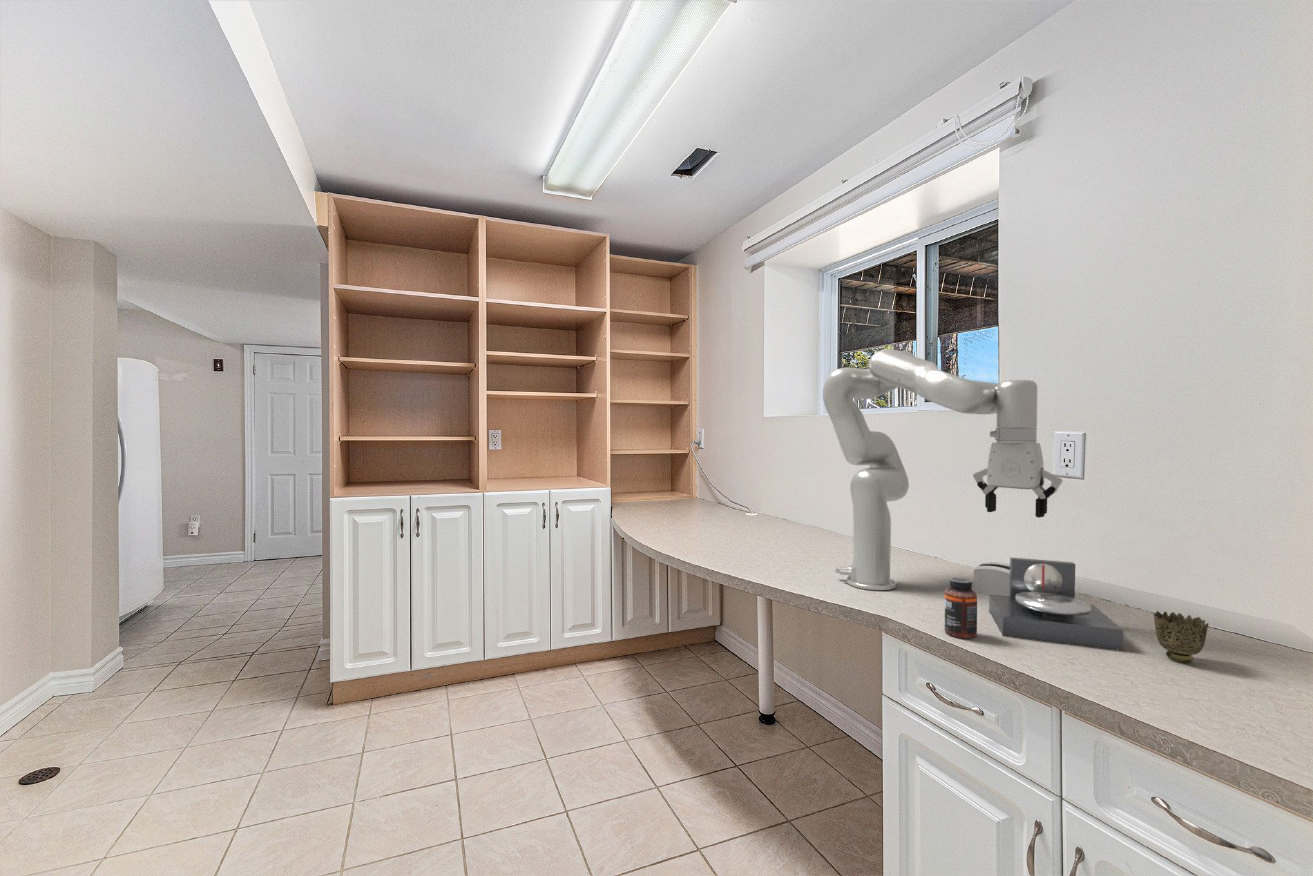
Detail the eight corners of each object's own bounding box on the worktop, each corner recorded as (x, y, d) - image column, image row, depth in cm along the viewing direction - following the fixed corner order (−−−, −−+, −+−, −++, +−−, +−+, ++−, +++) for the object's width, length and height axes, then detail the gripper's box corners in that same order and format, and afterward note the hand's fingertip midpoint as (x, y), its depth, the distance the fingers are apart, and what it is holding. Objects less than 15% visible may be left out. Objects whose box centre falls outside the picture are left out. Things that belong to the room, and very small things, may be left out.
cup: (1212, 672, 101) (1213, 627, 101) (1157, 662, 105) (1158, 619, 104) (1200, 658, 107) (1201, 615, 107) (1149, 649, 111) (1150, 608, 111)
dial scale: (1002, 635, 118) (1004, 572, 117) (989, 611, 133) (990, 555, 133) (1122, 650, 110) (1124, 583, 110) (1093, 623, 126) (1094, 564, 126)
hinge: (1053, 606, 138) (1045, 569, 136) (1041, 615, 136) (1033, 577, 134) (987, 588, 153) (979, 554, 151) (975, 596, 151) (967, 562, 149)
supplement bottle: (980, 634, 118) (981, 579, 118) (972, 642, 114) (973, 585, 114) (949, 627, 122) (950, 574, 122) (940, 634, 118) (941, 579, 118)
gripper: (967, 436, 131) (966, 511, 131) (1055, 437, 117) (1054, 520, 117) (981, 436, 135) (980, 508, 136) (1068, 437, 122) (1067, 517, 122)
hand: (1015, 514), depth 126 cm, fingers open, 9 cm apart
